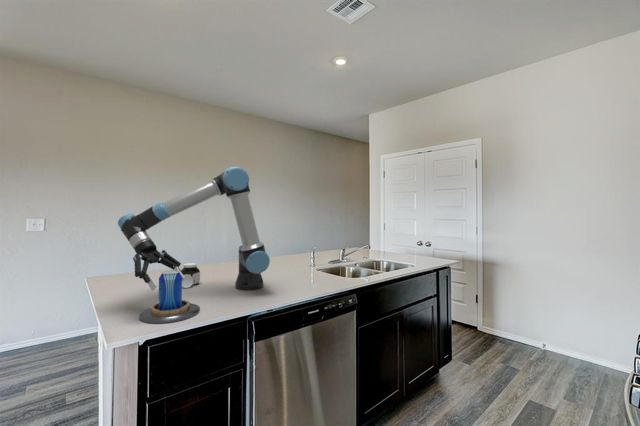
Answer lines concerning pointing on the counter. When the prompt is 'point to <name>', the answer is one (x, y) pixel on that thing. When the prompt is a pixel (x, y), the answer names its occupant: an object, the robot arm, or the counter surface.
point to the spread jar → (190, 275)
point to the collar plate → (169, 313)
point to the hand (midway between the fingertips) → (169, 284)
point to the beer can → (170, 290)
